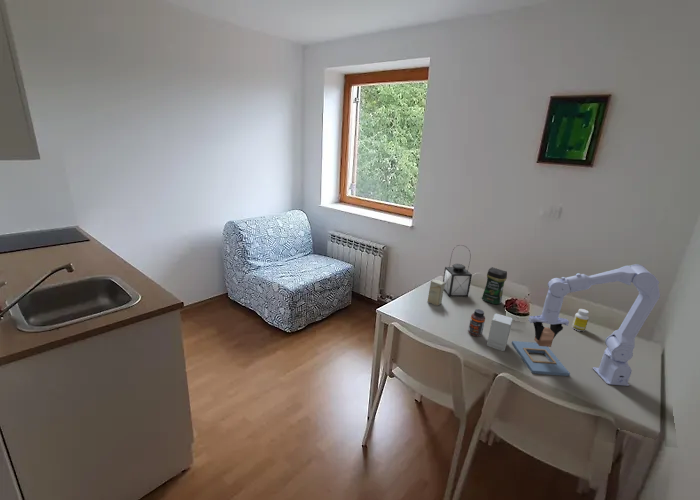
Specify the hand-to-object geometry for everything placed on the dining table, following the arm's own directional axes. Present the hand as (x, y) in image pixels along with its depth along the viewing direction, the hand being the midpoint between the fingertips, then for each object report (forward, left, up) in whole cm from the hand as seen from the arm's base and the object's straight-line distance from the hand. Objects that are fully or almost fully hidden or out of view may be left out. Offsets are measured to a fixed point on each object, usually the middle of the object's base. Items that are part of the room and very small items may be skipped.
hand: (543, 339), depth 141 cm
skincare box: (+44, +34, -9) cm, 56 cm away
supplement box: (+8, +14, -9) cm, 19 cm away
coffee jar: (+51, +2, -9) cm, 52 cm away
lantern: (+59, +20, -9) cm, 63 cm away
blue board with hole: (0, 0, -9) cm, 9 cm away
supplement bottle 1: (+16, +21, -9) cm, 28 cm away
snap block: (0, 0, -2) cm, 2 cm away
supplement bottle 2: (+27, -31, -9) cm, 42 cm away
